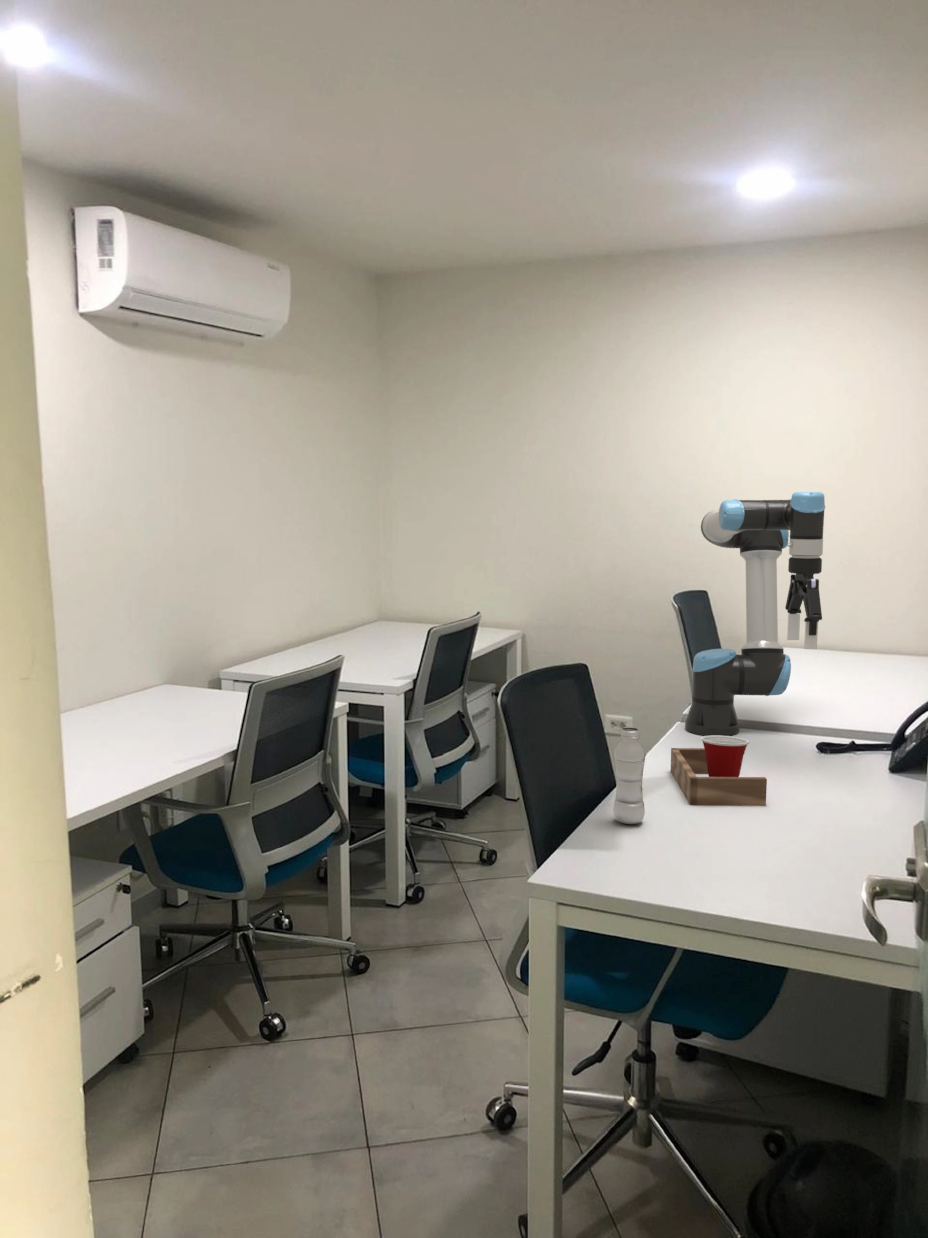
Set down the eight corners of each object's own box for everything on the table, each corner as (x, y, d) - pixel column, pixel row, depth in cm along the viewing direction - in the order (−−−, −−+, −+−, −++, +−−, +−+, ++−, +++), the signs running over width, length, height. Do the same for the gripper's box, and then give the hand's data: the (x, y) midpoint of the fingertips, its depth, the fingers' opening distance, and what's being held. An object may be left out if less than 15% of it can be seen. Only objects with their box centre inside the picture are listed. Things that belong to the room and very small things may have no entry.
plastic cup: (750, 784, 224) (752, 734, 223) (743, 797, 215) (745, 746, 213) (704, 778, 229) (705, 730, 227) (695, 791, 219) (696, 741, 217)
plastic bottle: (626, 830, 195) (627, 734, 192) (606, 820, 201) (608, 727, 198) (651, 824, 198) (653, 731, 195) (631, 815, 204) (632, 724, 201)
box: (670, 771, 235) (671, 748, 234) (738, 772, 234) (738, 748, 233) (690, 805, 210) (690, 778, 209) (765, 805, 209) (766, 779, 208)
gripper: (774, 553, 240) (771, 636, 243) (805, 560, 215) (801, 652, 218) (804, 553, 240) (801, 636, 243) (839, 560, 215) (834, 652, 218)
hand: (801, 644), depth 230 cm, fingers open, 13 cm apart
